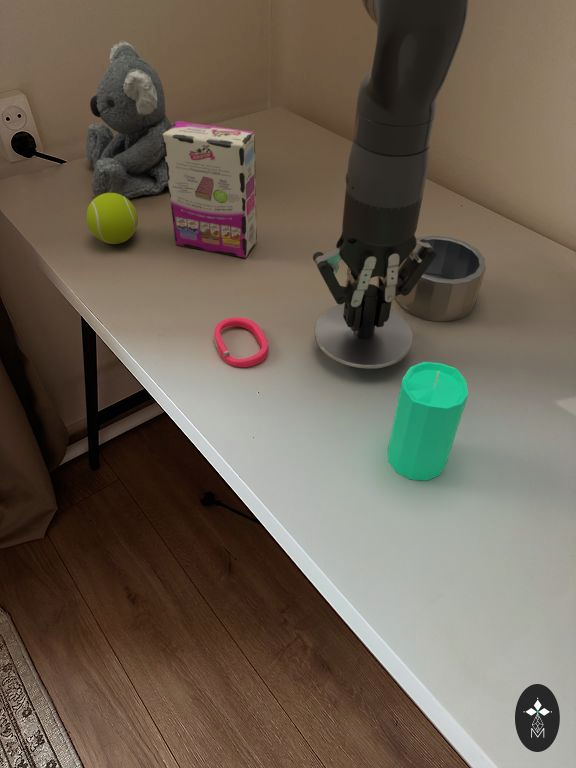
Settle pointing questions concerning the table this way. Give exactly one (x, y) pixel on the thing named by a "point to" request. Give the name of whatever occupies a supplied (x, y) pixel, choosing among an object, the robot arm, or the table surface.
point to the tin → (446, 281)
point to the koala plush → (128, 128)
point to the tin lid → (364, 335)
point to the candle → (426, 420)
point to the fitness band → (250, 326)
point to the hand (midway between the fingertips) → (365, 324)
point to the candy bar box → (212, 187)
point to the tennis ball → (112, 218)
